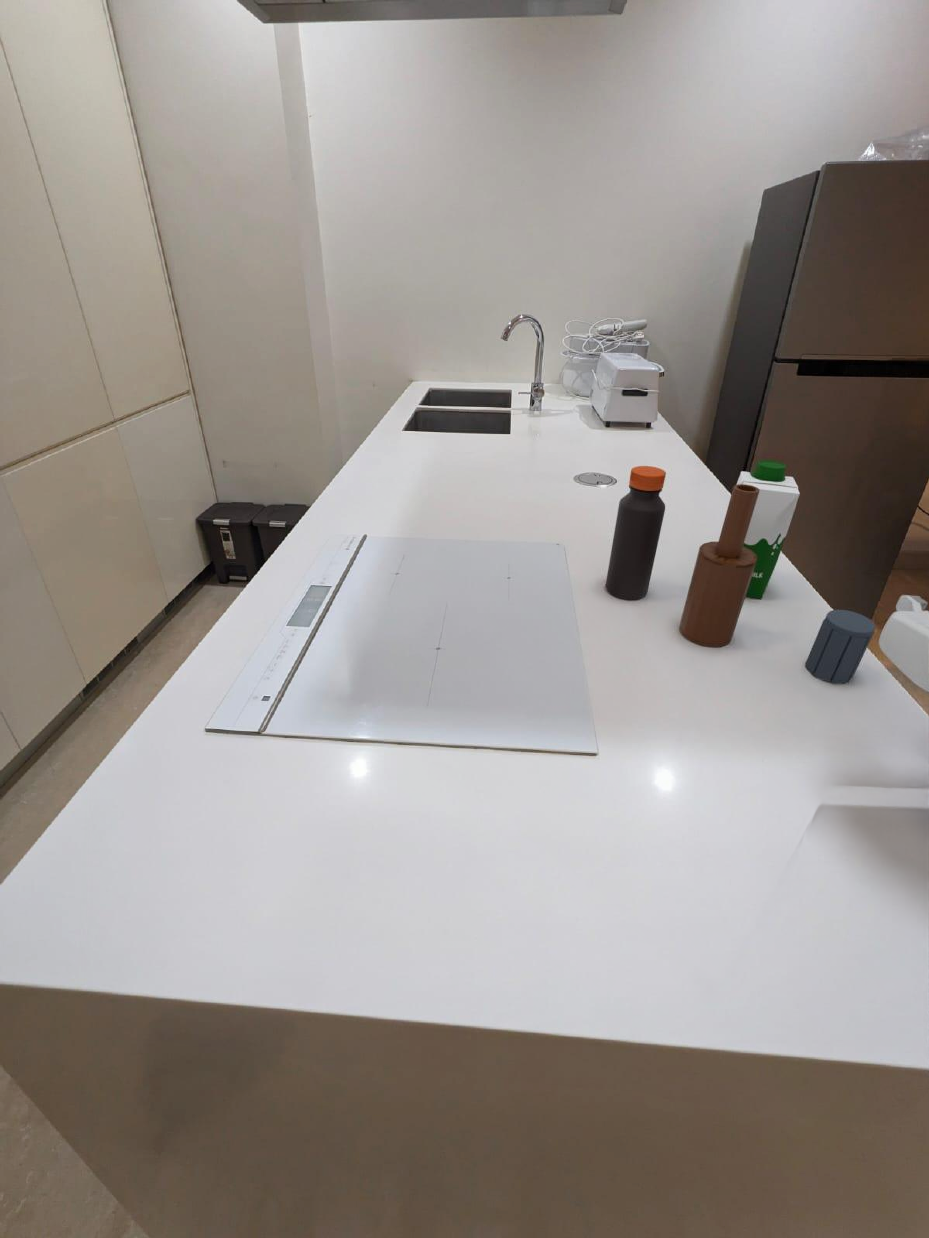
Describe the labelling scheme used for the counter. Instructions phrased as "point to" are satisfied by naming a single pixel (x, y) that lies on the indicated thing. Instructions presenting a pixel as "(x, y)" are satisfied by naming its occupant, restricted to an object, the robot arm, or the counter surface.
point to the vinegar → (636, 534)
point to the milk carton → (768, 519)
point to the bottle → (721, 576)
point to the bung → (840, 646)
